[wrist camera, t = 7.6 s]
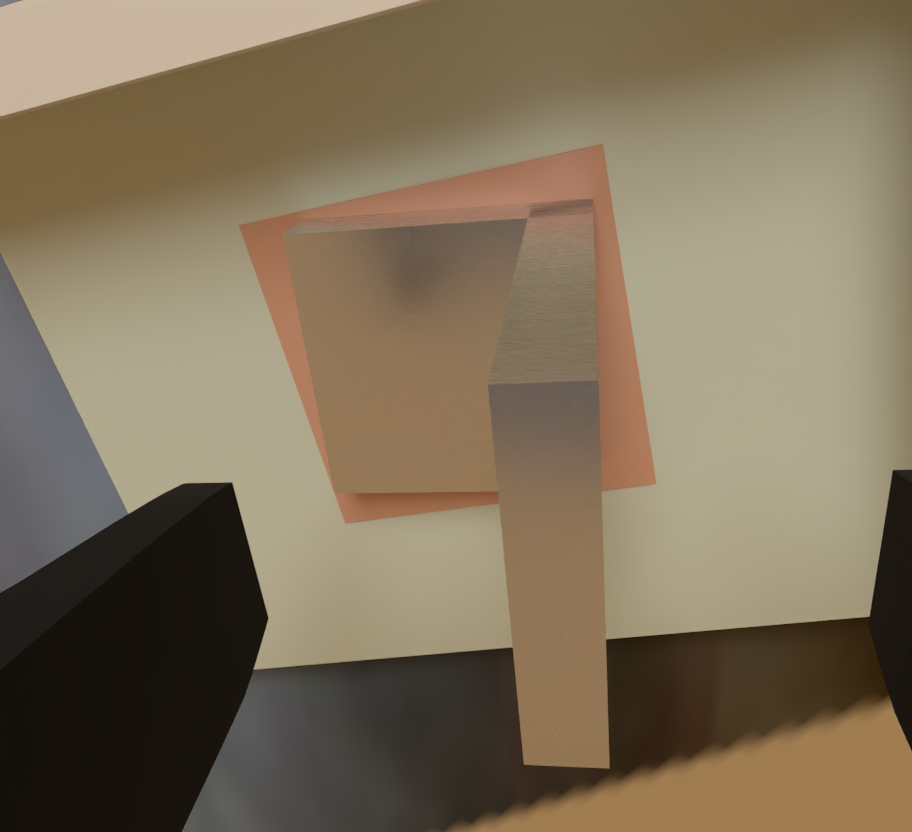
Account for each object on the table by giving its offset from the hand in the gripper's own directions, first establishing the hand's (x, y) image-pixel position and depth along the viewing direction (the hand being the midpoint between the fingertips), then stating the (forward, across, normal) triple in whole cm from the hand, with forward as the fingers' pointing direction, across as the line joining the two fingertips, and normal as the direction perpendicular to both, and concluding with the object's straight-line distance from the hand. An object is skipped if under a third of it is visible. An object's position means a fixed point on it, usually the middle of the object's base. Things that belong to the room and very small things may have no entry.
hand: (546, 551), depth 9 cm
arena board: (+7, +1, 0) cm, 7 cm away
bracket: (+6, +2, 0) cm, 6 cm away
